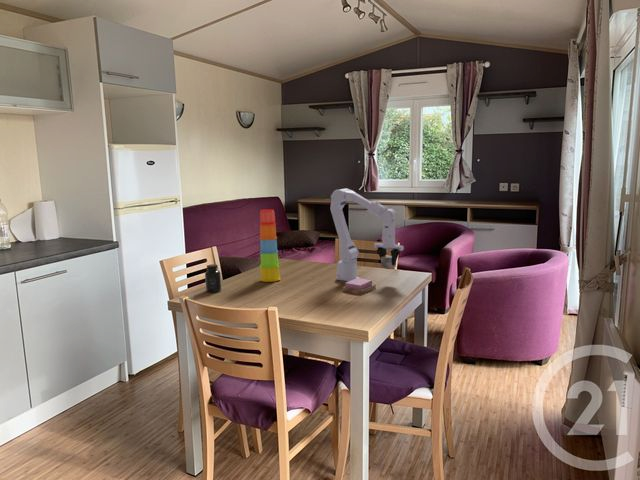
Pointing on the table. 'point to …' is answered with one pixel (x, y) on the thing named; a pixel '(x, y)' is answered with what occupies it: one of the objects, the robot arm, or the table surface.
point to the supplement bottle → (213, 279)
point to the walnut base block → (359, 290)
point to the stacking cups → (268, 247)
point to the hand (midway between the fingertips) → (388, 264)
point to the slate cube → (387, 262)
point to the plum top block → (358, 283)
